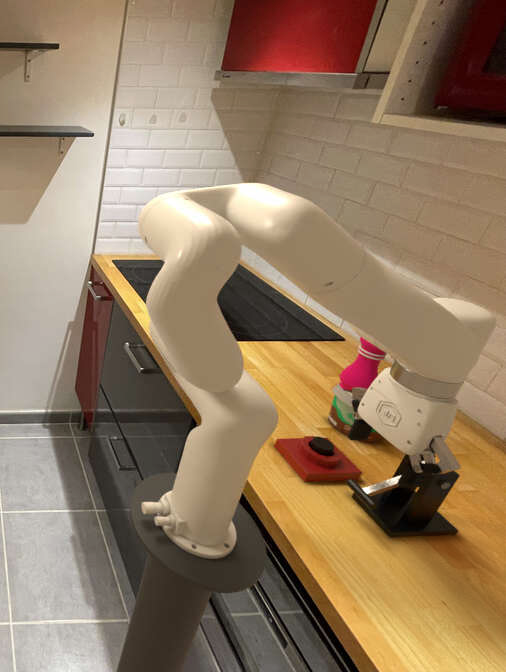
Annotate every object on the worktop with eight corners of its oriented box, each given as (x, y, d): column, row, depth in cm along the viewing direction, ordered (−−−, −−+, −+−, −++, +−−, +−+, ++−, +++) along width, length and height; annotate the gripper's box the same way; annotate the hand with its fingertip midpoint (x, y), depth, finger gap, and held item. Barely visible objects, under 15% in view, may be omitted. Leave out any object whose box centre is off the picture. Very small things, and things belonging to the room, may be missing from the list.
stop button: (318, 456, 87) (321, 450, 87) (305, 442, 91) (308, 436, 90) (336, 456, 88) (339, 449, 87) (322, 442, 91) (325, 436, 90)
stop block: (304, 482, 86) (311, 467, 85) (273, 446, 95) (279, 432, 93) (358, 480, 87) (366, 465, 85) (323, 445, 95) (330, 430, 93)
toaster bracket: (389, 537, 76) (421, 484, 71) (351, 496, 83) (377, 445, 78) (455, 535, 77) (492, 482, 71) (412, 495, 84) (442, 444, 79)
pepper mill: (327, 389, 112) (356, 321, 103) (345, 383, 114) (375, 315, 106) (358, 408, 106) (393, 336, 97) (377, 400, 108) (412, 330, 100)
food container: (325, 435, 98) (342, 399, 93) (319, 417, 103) (335, 382, 98) (397, 455, 93) (417, 418, 89) (387, 435, 98) (406, 399, 94)
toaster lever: (370, 512, 76) (368, 504, 75) (346, 487, 80) (345, 479, 79) (451, 485, 74) (451, 475, 73) (422, 460, 78) (421, 452, 77)
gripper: (353, 345, 75) (320, 423, 82) (460, 419, 59) (407, 508, 66) (396, 344, 75) (359, 422, 82) (514, 417, 59) (455, 506, 66)
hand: (380, 460), depth 74 cm, fingers open, 9 cm apart
